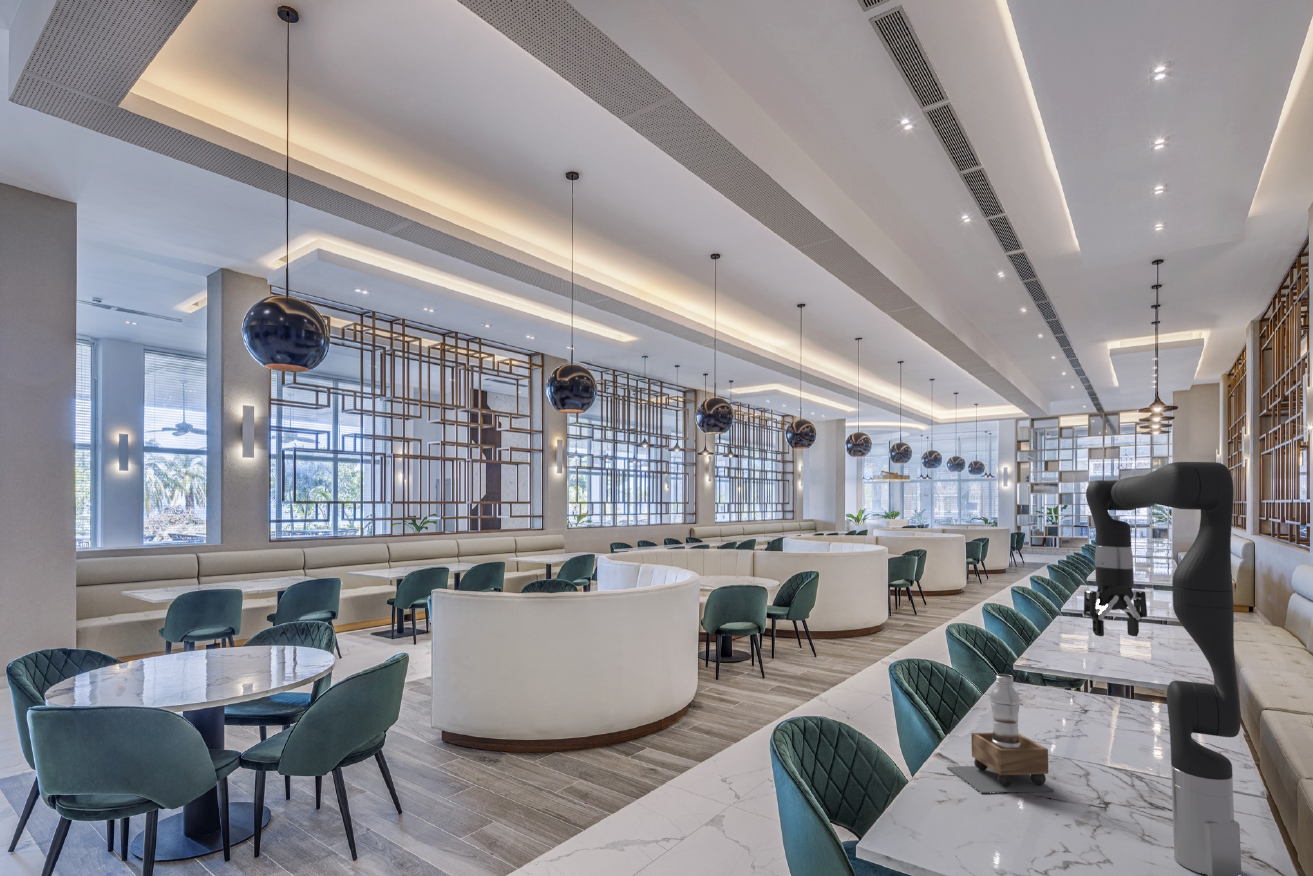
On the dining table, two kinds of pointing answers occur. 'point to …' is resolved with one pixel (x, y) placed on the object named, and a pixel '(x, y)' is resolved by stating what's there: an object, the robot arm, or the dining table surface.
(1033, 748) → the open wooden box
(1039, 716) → the dining table surface
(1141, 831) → the dining table surface
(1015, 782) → the gray mat
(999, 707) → the plastic bottle
